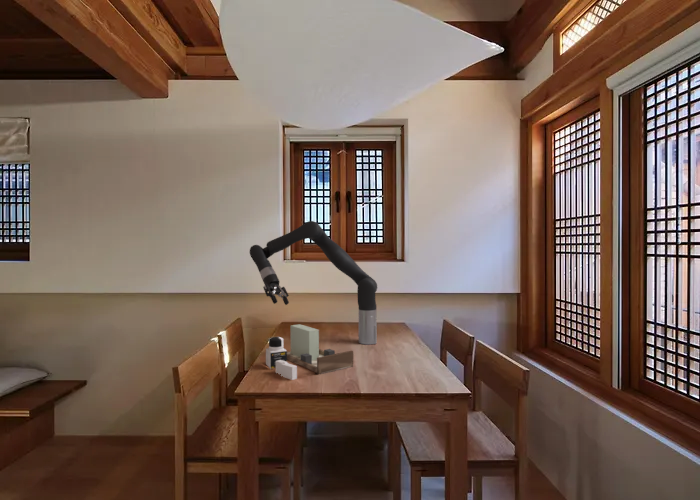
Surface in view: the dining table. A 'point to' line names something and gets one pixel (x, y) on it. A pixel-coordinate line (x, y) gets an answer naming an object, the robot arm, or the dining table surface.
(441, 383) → the dining table surface
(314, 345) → the block
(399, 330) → the dining table surface
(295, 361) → the tray
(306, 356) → the trap posts
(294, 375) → the white rectangular block
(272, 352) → the medicine bottle
